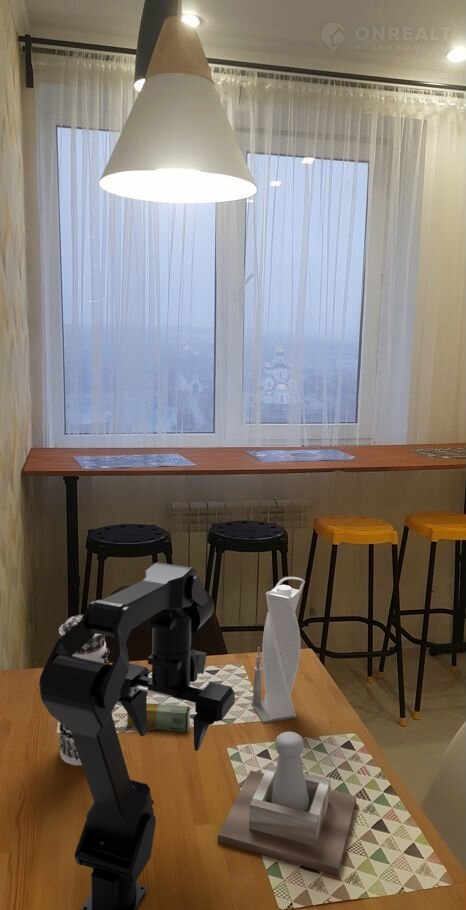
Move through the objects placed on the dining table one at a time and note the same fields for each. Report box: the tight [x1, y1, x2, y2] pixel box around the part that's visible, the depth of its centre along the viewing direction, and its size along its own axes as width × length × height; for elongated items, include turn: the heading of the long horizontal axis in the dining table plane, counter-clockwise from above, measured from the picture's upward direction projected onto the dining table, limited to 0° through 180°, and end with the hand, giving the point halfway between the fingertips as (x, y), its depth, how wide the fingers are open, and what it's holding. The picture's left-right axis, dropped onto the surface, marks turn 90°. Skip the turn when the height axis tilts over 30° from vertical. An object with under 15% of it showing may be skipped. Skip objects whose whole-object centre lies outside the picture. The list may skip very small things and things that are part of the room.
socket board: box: [217, 764, 357, 877], centre depth 105 cm, size 16×18×5 cm
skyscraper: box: [250, 576, 306, 724], centre depth 133 cm, size 8×8×28 cm
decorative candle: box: [58, 613, 111, 766], centre depth 119 cm, size 9×9×25 cm
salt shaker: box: [271, 731, 309, 812], centre depth 104 cm, size 6×6×13 cm
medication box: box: [126, 702, 191, 733], centre depth 130 cm, size 12×3×4 cm, turn 84°
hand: (170, 742), depth 103 cm, fingers open, 9 cm apart
